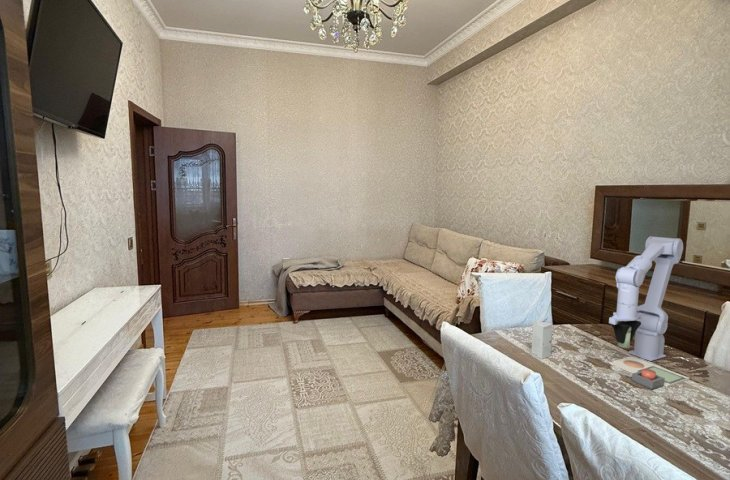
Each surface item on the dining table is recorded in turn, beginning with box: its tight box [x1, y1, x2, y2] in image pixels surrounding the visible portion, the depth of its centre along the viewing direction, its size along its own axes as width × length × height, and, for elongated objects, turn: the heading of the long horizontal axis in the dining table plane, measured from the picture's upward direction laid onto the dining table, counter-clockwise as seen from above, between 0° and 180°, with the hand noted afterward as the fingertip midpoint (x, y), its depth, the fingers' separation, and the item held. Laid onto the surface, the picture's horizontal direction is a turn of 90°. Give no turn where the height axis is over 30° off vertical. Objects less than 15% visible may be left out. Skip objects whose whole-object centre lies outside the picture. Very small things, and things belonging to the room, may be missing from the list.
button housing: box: [631, 371, 665, 391], centre depth 120 cm, size 6×6×2 cm
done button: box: [641, 369, 656, 380], centre depth 120 cm, size 4×4×2 cm
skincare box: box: [531, 320, 553, 360], centre depth 140 cm, size 6×4×12 cm
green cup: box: [617, 327, 632, 349], centre depth 131 cm, size 4×4×7 cm
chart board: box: [609, 356, 690, 388], centre depth 129 cm, size 12×18×1 cm, turn 25°
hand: (624, 341), depth 131 cm, fingers closed on green cup, 3 cm apart
